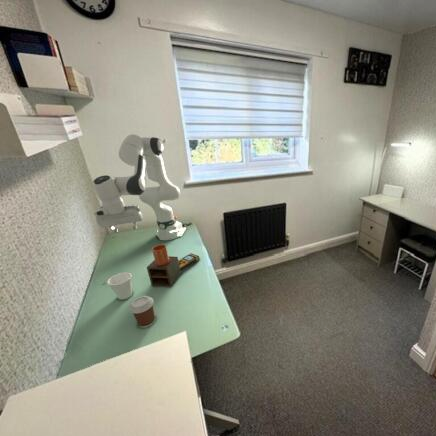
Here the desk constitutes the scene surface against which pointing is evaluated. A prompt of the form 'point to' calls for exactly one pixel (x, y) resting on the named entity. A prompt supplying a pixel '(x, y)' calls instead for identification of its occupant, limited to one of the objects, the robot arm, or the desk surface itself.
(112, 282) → the cup
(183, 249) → the desk surface
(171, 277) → the shelf
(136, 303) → the coffee cup
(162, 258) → the tumbler
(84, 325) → the desk surface
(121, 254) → the desk surface
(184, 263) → the electronic device
